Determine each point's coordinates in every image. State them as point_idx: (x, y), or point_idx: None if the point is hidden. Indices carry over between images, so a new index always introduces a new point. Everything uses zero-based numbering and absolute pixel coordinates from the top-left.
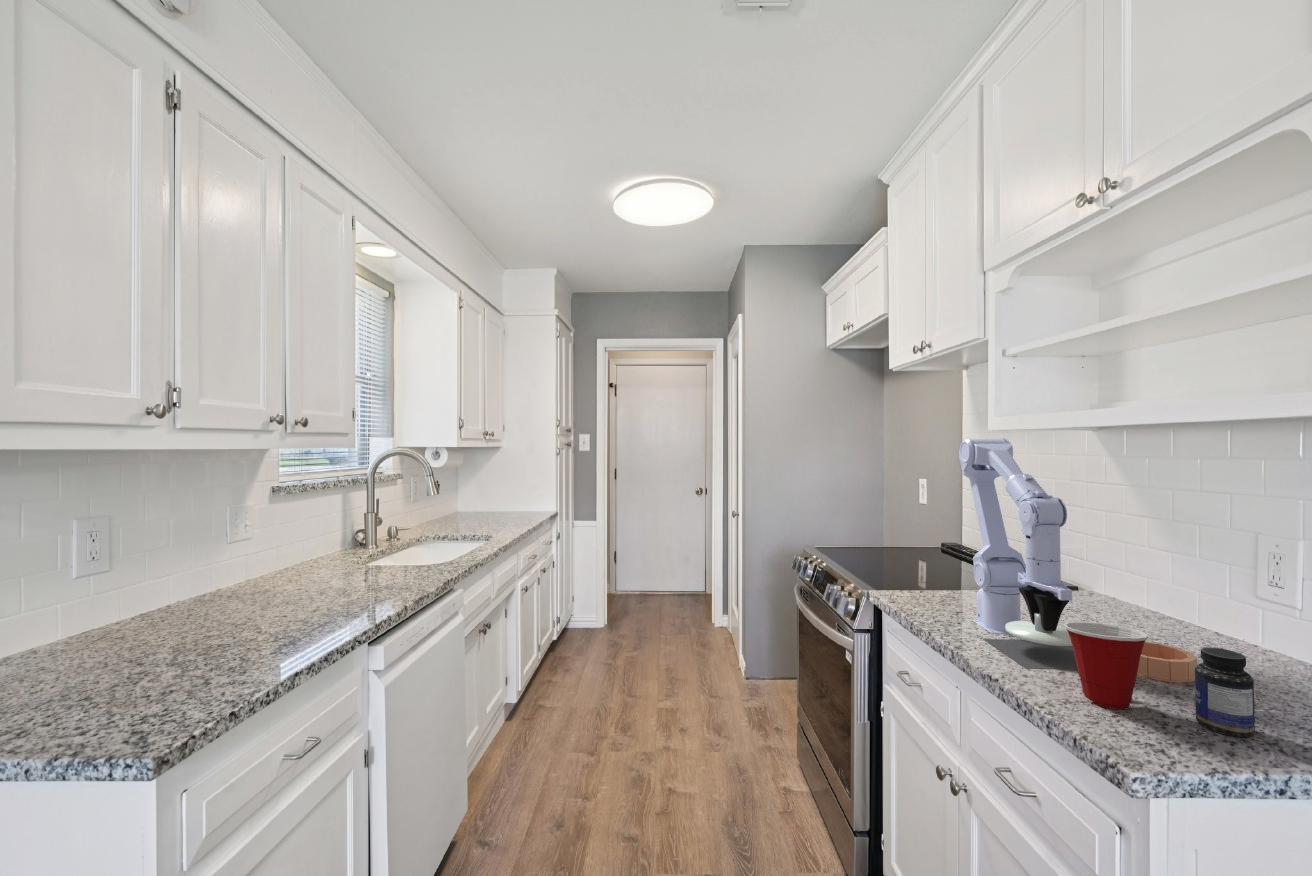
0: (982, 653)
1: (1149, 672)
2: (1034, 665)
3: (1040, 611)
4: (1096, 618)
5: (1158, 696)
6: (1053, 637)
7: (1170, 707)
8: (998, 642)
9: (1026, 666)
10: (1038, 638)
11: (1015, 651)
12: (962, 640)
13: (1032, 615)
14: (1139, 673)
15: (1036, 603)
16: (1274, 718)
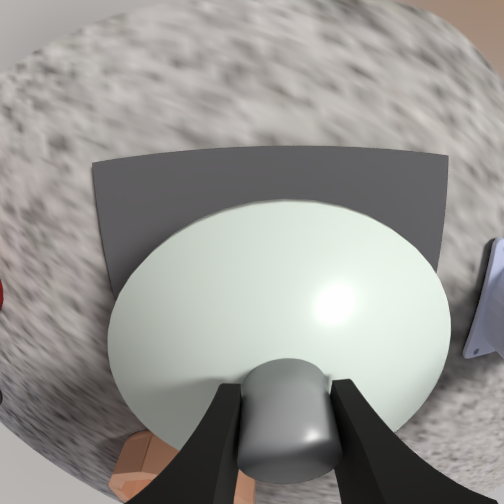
0: (288, 67)
1: (122, 449)
2: (126, 213)
3: (204, 466)
4: (476, 470)
5: (48, 393)
6: (166, 375)
7: (10, 372)
8: (408, 201)
9: (108, 175)
10: (126, 297)
11: None
12: (444, 76)
13: (346, 416)
14: (135, 439)
15: (360, 498)
16: (48, 452)
